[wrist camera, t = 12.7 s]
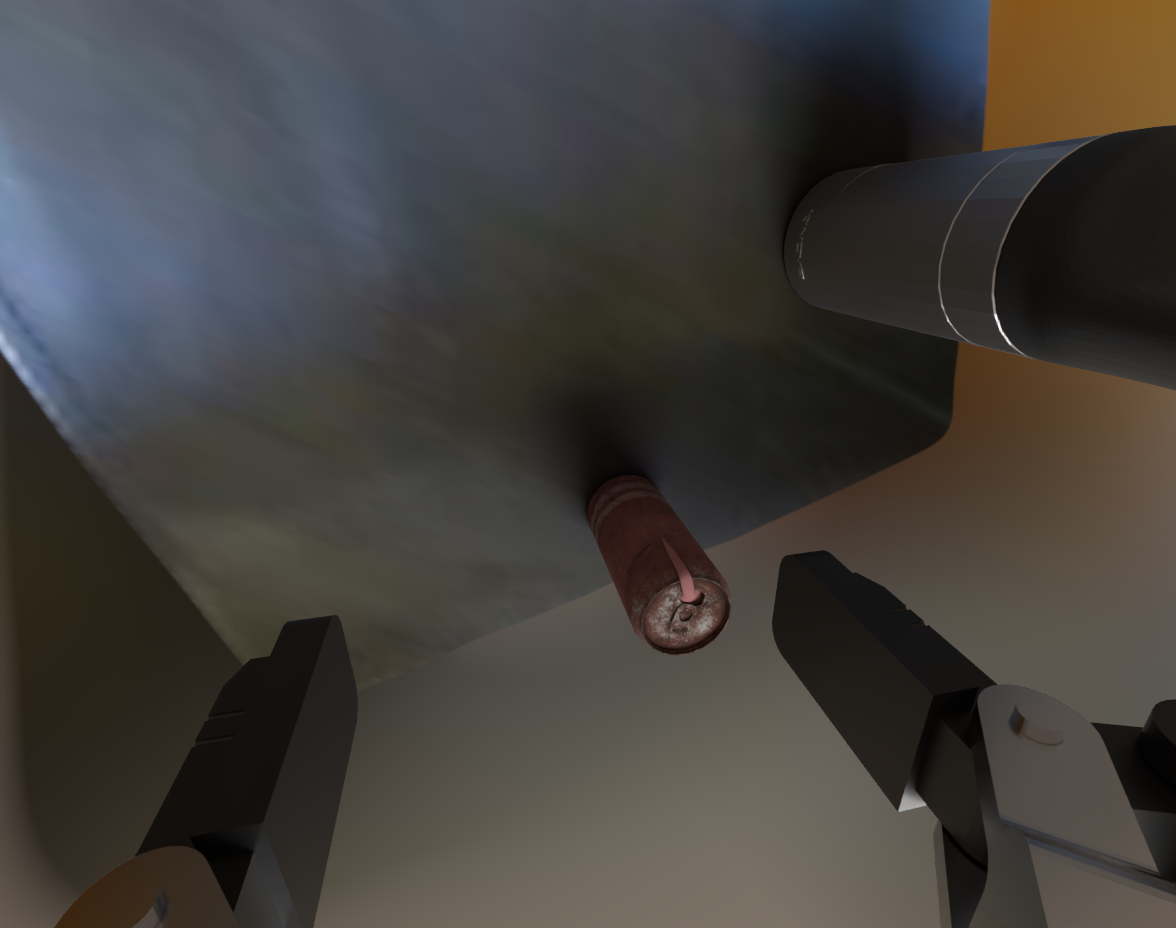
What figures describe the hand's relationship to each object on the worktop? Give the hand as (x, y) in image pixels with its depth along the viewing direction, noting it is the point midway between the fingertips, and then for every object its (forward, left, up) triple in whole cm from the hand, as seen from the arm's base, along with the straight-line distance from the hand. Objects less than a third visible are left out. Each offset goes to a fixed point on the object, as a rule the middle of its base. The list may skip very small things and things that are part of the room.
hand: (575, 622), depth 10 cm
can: (-9, +14, -30) cm, 35 cm away
